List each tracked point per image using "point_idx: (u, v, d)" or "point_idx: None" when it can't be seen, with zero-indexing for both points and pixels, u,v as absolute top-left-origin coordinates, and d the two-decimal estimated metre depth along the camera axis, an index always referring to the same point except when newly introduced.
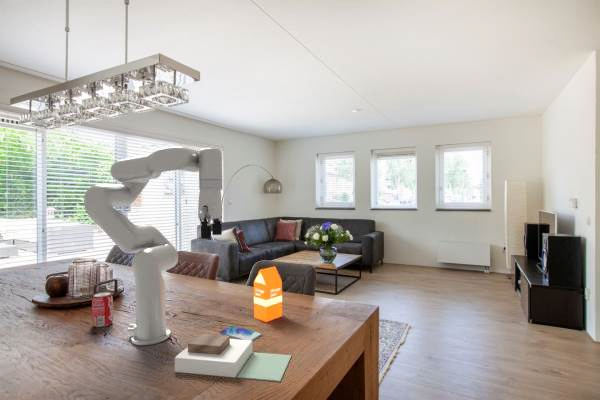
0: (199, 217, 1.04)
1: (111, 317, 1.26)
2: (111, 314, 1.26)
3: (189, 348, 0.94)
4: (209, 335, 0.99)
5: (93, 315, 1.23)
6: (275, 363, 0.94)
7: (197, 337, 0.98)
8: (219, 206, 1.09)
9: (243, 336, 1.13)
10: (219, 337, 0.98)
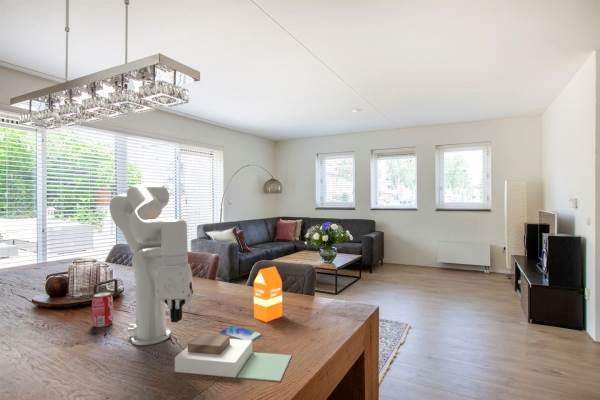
0: (186, 296, 0.95)
1: (111, 317, 1.26)
2: (111, 314, 1.26)
3: (189, 348, 0.94)
4: (209, 335, 0.99)
5: (93, 315, 1.23)
6: (275, 363, 0.94)
7: (197, 337, 0.98)
8: None
9: (243, 336, 1.13)
10: (219, 337, 0.98)
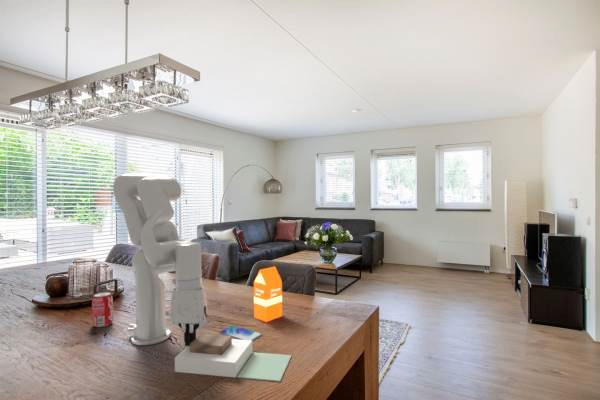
0: (201, 321, 0.94)
1: (111, 317, 1.26)
2: (111, 314, 1.26)
3: (191, 348, 0.94)
4: (211, 335, 0.99)
5: (93, 315, 1.23)
6: (275, 363, 0.94)
7: (199, 337, 0.98)
8: None
9: (243, 336, 1.13)
10: (221, 337, 0.98)
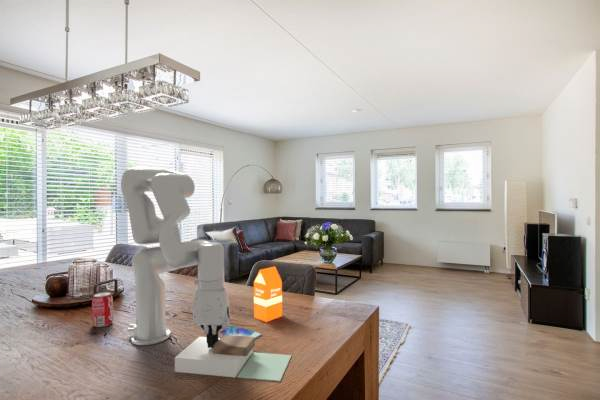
0: (224, 322, 0.93)
1: (111, 317, 1.26)
2: (111, 314, 1.26)
3: (215, 349, 0.93)
4: (233, 336, 0.98)
5: (93, 315, 1.23)
6: (275, 363, 0.94)
7: (222, 338, 0.97)
8: None
9: None
10: (244, 338, 0.97)
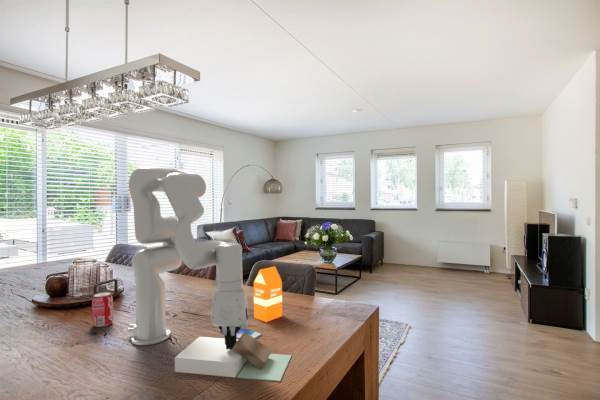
0: (243, 324, 0.92)
1: (111, 317, 1.26)
2: (111, 314, 1.26)
3: (235, 346, 0.92)
4: (254, 339, 0.97)
5: (93, 315, 1.23)
6: (275, 363, 0.94)
7: (243, 336, 0.96)
8: None
9: None
10: (263, 348, 0.96)
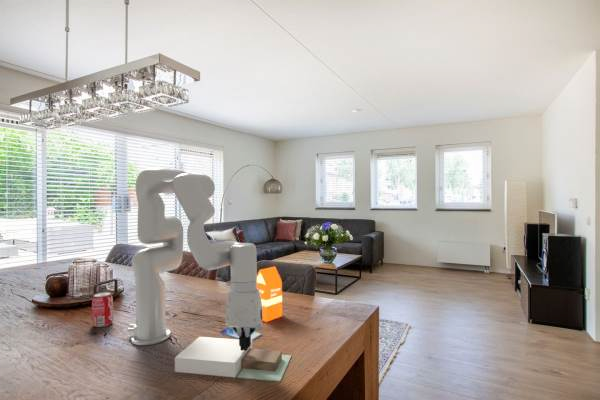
0: (258, 325, 0.91)
1: (111, 317, 1.26)
2: (111, 314, 1.26)
3: (243, 364, 0.91)
4: (260, 350, 0.97)
5: (93, 315, 1.23)
6: None
7: (249, 352, 0.96)
8: None
9: None
10: (271, 352, 0.95)
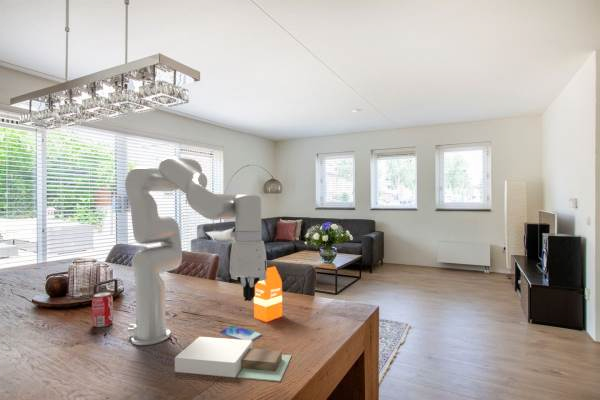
0: (262, 274, 0.91)
1: (111, 317, 1.26)
2: (111, 314, 1.26)
3: (243, 364, 0.91)
4: (260, 350, 0.97)
5: (93, 315, 1.23)
6: None
7: (249, 352, 0.96)
8: None
9: (242, 336, 1.13)
10: (271, 352, 0.95)
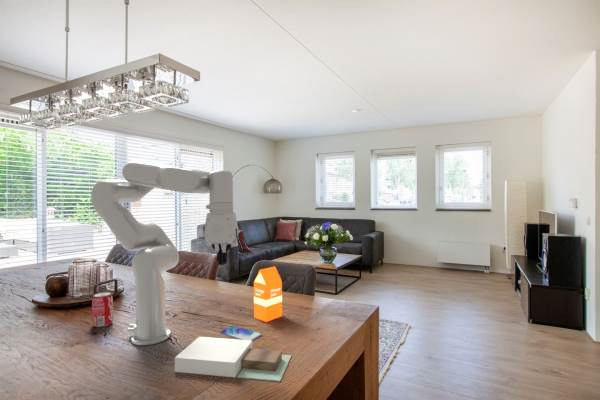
0: (233, 241, 1.03)
1: (111, 317, 1.26)
2: (111, 314, 1.26)
3: (243, 364, 0.91)
4: (260, 350, 0.97)
5: (93, 315, 1.23)
6: None
7: (249, 352, 0.96)
8: None
9: (242, 336, 1.13)
10: (271, 352, 0.95)
